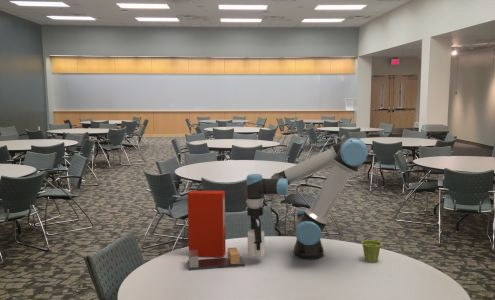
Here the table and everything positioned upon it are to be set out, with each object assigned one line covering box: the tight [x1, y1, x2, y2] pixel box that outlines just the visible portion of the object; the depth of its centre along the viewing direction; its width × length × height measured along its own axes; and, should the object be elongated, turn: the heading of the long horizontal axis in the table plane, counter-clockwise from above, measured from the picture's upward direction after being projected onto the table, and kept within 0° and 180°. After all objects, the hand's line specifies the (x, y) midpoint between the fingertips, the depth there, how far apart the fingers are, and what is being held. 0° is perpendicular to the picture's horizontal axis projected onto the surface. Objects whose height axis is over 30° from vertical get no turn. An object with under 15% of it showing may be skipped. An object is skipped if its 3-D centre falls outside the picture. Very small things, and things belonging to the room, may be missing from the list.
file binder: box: [187, 190, 227, 258], centre depth 233 cm, size 8×17×32 cm, turn 84°
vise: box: [187, 249, 246, 271], centre depth 220 cm, size 26×10×6 cm, turn 100°
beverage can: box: [246, 228, 266, 258], centre depth 223 cm, size 8×8×12 cm
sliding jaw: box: [227, 246, 240, 264], centre depth 222 cm, size 4×10×5 cm, turn 10°
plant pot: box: [361, 239, 383, 263], centre depth 224 cm, size 9×9×9 cm
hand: (256, 253), depth 223 cm, fingers closed on beverage can, 8 cm apart
